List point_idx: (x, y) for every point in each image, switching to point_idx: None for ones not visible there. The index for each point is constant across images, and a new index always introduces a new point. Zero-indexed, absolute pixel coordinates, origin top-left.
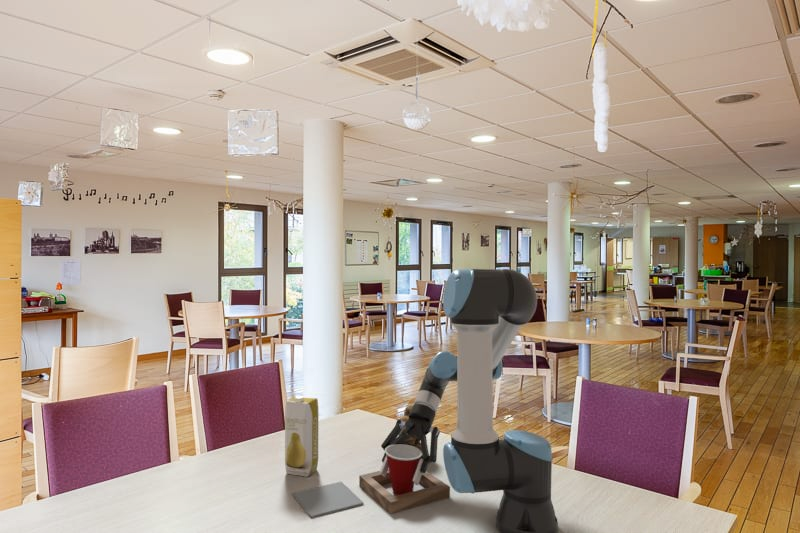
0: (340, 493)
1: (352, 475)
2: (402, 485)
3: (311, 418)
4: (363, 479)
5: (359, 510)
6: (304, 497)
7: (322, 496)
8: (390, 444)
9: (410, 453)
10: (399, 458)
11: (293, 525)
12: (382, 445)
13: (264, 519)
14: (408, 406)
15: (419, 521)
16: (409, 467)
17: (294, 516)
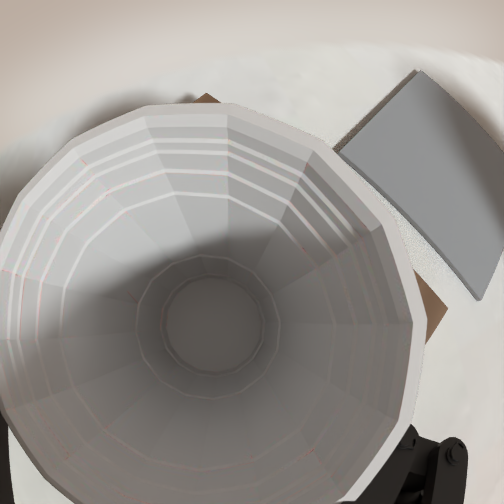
0: (444, 202)
1: (464, 383)
2: (189, 258)
3: None
4: (419, 276)
5: (329, 115)
6: (495, 157)
7: (471, 170)
8: (390, 491)
9: (147, 475)
10: (149, 108)
11: (423, 50)
12: (459, 450)
13: (477, 74)
14: None
15: (108, 114)
16: (100, 225)
17: (450, 80)
